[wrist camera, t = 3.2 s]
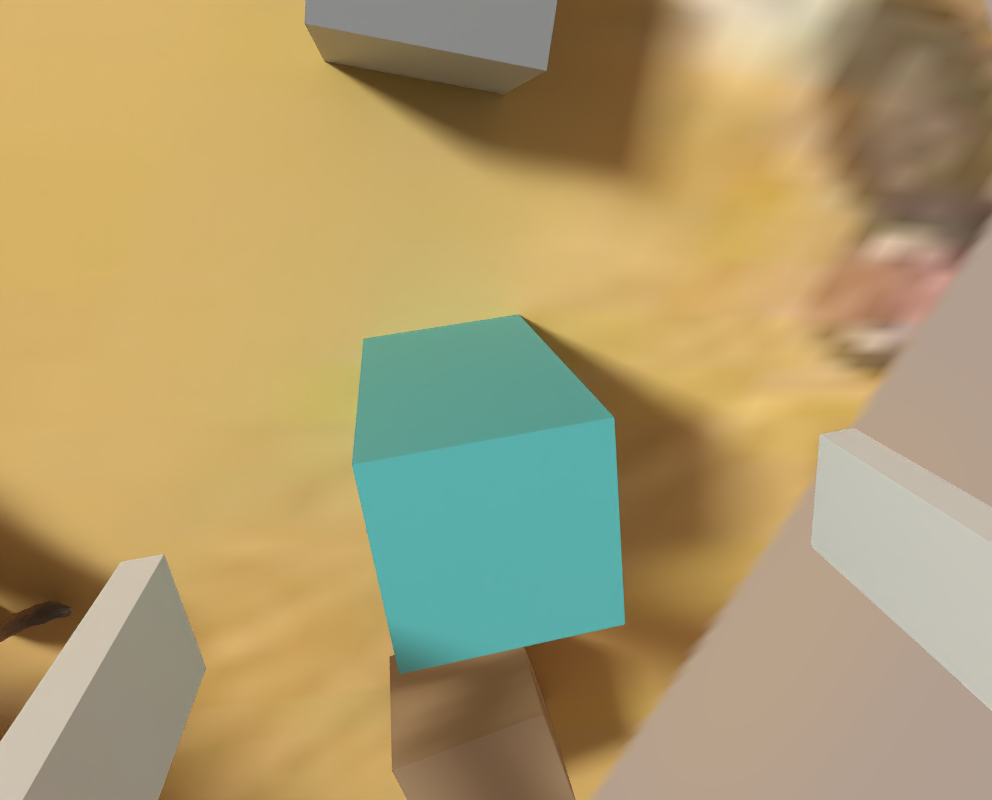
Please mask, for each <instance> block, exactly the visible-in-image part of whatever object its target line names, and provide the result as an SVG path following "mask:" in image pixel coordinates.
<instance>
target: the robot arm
mask: <svg viewBox="0 0 992 800" xmlns="http://www.w3.org/2000/svg"><path fill="white" fill-rule="evenodd" d="M811 546H812V547H813V548H814V549H815V550H816V551H817V552H818V553H819V554H820V555H821V556H823V557H824V558H825V559H826V560H827V561H828V562H829V563H830V564H831V565H832V566H834V567H835V568H836V569H837V570H838V571H839V572H840V573H841V574H842V575H844V576H845V577H846V578H847V579H848V580H849V581H850V582H851V583H852V584H853V585H855V587H857V588H858V589H859V590H860V591H861V592H862V593H863V594H864V595H865V596H866V597H868V598H869V599H870V600H871V601H872V602H873V603H874V604H875V605H876V606H877V607H879V608H880V609H881V610H882V611H883V612H884V613H885V614H886V615H887V616H889V617H890V618H891V619H892V620H893V621H894V622H895V623H896V624H897V625H898V626H899V627H900V628H902V629H903V630H904V631H905V632H906V633H907V634H908V635H909V636H910V637H912V638H913V639H914V640H915V641H916V642H917V643H918V644H919V645H920V646H921V647H923V648H924V649H925V650H926V651H927V652H928V653H929V654H930V655H931V656H932V657H933V658H934V659H936V660H937V661H938V662H939V663H940V664H941V665H942V666H943V667H944V668H945V669H947V670H948V671H949V672H950V673H951V674H952V675H953V676H954V677H955V678H956V679H958V680H959V681H960V682H961V683H962V684H963V685H964V686H965V687H966V688H968V690H970V691H971V692H972V693H973V694H974V695H975V696H976V697H977V698H978V699H979V700H981V701H982V702H983V703H984V704H985V705H986V706H987V707H988V708H989V709H991V710H992V507H991V506H989V505H987V504H986V503H984V502H982V501H980V500H979V499H977V498H975V497H973V496H971V495H970V494H968V493H966V492H965V491H963V490H961V489H959V488H958V487H956V486H954V485H952V484H950V483H949V482H947V481H945V480H944V479H942V478H940V477H938V476H937V475H935V474H933V473H931V472H930V471H928V470H926V469H924V468H923V467H921V466H919V465H917V464H916V463H914V462H912V461H911V460H909V459H907V458H905V457H904V456H901V455H900V454H898V453H896V452H895V451H893V450H891V449H890V448H888V447H886V446H884V445H883V444H881V443H879V442H877V441H876V440H874V439H872V438H870V437H869V436H867V435H865V434H863V433H862V432H860V431H858V430H856V429H855V428H852V429H846V430H841V431H835V432H830V433H824V434H820V439H819V451H818V464H817V477H816V489H815V502H814V515H813V527H812V539H811ZM205 670H206V667H205V664H204V661H203V658H202V656H201V653H200V650H199V648H198V645H197V642H196V639H195V637H194V634H193V631H192V629H191V626H190V623H189V621H188V618H187V615H186V612H185V610H184V607H183V604H182V602H181V599H180V596H179V593H178V591H177V588H176V585H175V583H174V580H173V577H172V575H171V572H170V569H169V566H168V564H167V561H166V558H165V556H164V554H162V555H156V556H151V557H145V558H140V559H134V560H129V561H123V562H121V563H120V564H119V566H118V567H117V569H116V570H115V572H114V573H113V575H112V576H111V578H110V579H109V581H108V582H107V584H106V585H105V586H104V588H103V589H102V591H101V592H100V594H99V595H98V597H97V598H96V600H95V601H94V603H93V604H92V606H91V607H90V609H89V610H88V612H87V613H86V615H85V616H84V618H83V619H82V621H81V622H80V624H79V625H78V627H77V628H76V630H75V631H74V633H73V634H72V636H71V637H70V639H69V640H68V642H67V643H66V645H65V646H64V648H63V649H62V651H61V652H60V653H59V655H58V656H57V658H56V659H55V661H54V662H53V664H52V665H51V667H50V668H49V670H48V671H47V673H46V674H45V676H44V677H43V679H42V680H41V682H40V683H39V685H38V686H37V688H36V689H35V691H34V692H33V694H32V695H31V697H30V698H29V700H28V701H27V703H26V704H25V706H24V707H23V709H22V710H21V712H20V713H19V715H18V716H17V717H16V719H15V720H14V722H13V723H12V725H11V726H10V728H9V729H8V731H7V732H6V734H5V735H4V737H3V738H2V740H1V741H0V800H158V799H159V796H160V794H161V791H162V788H163V785H164V783H165V780H166V777H167V774H168V772H169V769H170V766H171V763H172V761H173V758H174V755H175V752H176V750H177V747H178V744H179V741H180V739H181V736H182V733H183V730H184V727H185V725H186V722H187V719H188V716H189V714H190V711H191V708H192V705H193V703H194V700H195V697H196V694H197V692H198V689H199V686H200V683H201V681H202V678H203V675H204V672H205Z"/></svg>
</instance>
